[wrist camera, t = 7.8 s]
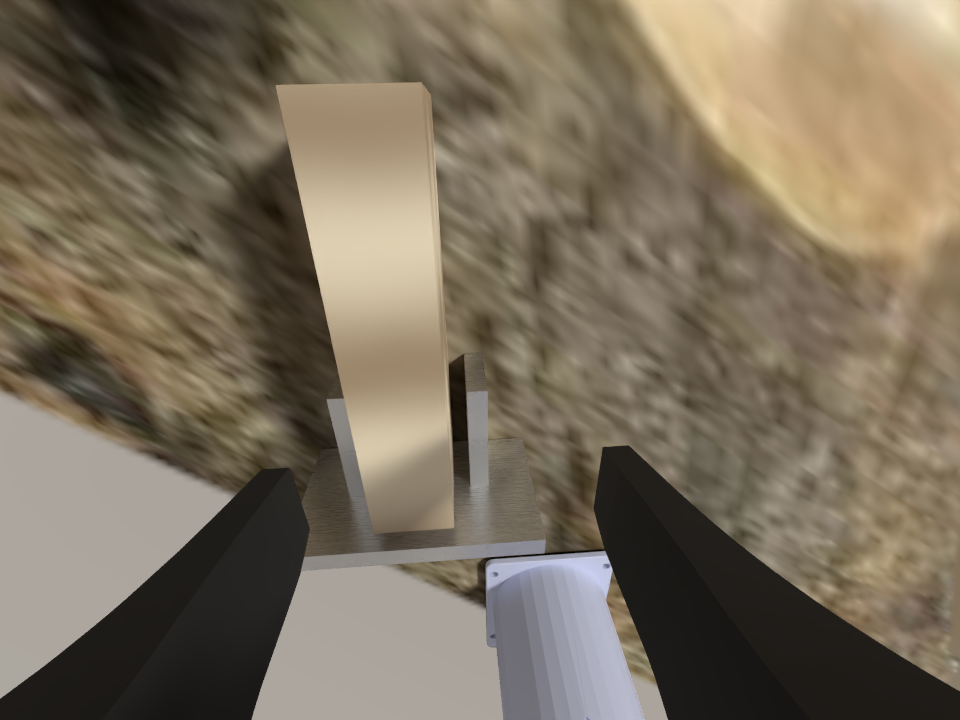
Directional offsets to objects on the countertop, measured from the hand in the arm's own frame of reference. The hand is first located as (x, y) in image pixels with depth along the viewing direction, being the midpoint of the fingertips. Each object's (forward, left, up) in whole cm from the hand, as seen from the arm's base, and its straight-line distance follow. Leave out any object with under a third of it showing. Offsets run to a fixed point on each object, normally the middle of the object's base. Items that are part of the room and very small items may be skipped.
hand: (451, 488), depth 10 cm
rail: (+1, +2, -10) cm, 10 cm away
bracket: (-4, +2, -9) cm, 10 cm away
